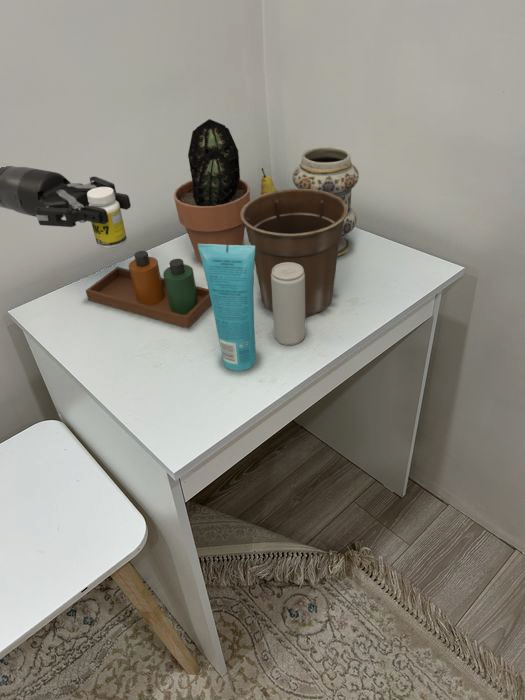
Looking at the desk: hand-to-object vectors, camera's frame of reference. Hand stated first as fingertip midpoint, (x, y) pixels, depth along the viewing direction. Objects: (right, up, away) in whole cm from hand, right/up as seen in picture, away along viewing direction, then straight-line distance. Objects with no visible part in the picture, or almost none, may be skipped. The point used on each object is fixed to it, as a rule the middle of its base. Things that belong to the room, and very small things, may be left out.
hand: (116, 209), depth 82 cm
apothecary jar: (+34, -1, +24) cm, 42 cm away
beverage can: (+26, -19, +2) cm, 33 cm away
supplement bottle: (-2, -4, +5) cm, 7 cm away
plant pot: (+28, -12, +11) cm, 32 cm away
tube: (+19, -23, -1) cm, 30 cm away
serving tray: (+3, -13, +13) cm, 18 cm away
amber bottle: (+3, -12, +12) cm, 17 cm away
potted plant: (+14, -3, +24) cm, 27 cm away
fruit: (+24, +7, +35) cm, 43 cm away
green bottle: (+9, -14, +9) cm, 19 cm away
